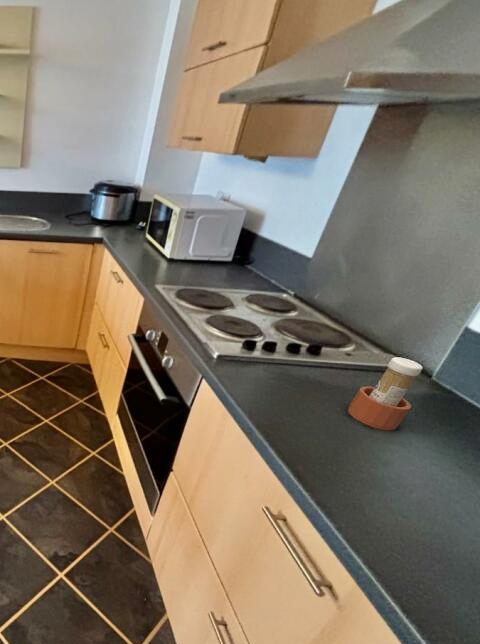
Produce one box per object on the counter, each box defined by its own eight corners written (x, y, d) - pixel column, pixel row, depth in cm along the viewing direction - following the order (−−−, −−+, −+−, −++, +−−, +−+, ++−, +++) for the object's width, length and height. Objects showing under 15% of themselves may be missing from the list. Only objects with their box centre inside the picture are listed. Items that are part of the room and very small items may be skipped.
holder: (391, 416, 90) (405, 395, 87) (400, 435, 83) (416, 414, 81) (345, 402, 93) (357, 382, 91) (350, 420, 87) (364, 399, 85)
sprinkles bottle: (356, 407, 91) (388, 354, 85) (381, 413, 89) (416, 359, 83) (364, 418, 87) (398, 364, 81) (391, 425, 85) (428, 370, 79)
